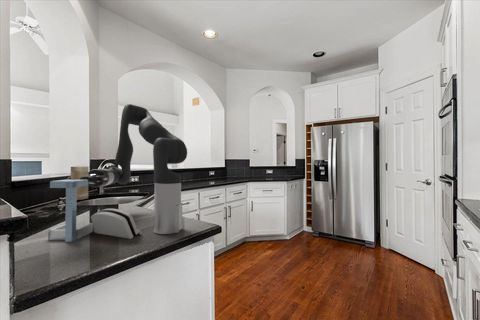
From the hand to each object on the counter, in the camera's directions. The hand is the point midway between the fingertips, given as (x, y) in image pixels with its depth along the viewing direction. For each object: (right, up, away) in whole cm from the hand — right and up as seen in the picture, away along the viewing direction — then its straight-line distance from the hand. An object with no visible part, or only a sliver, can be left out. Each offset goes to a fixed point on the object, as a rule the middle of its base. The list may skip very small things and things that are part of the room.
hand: (74, 180), depth 87 cm
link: (0, -7, +3) cm, 8 cm away
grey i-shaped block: (+4, -18, -8) cm, 20 cm away
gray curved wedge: (+17, -18, -6) cm, 26 cm away
